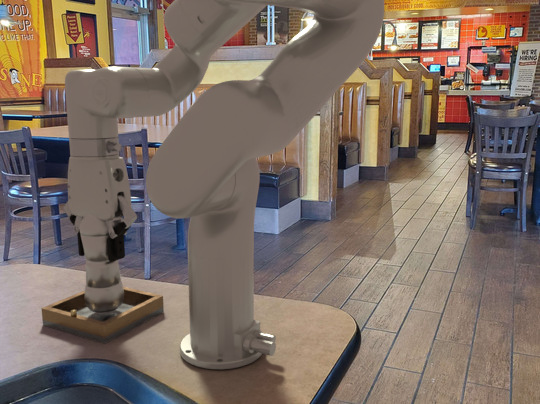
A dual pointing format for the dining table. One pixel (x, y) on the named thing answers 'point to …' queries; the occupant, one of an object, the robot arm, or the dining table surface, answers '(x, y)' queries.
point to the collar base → (102, 315)
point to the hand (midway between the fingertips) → (101, 255)
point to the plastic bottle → (100, 267)
